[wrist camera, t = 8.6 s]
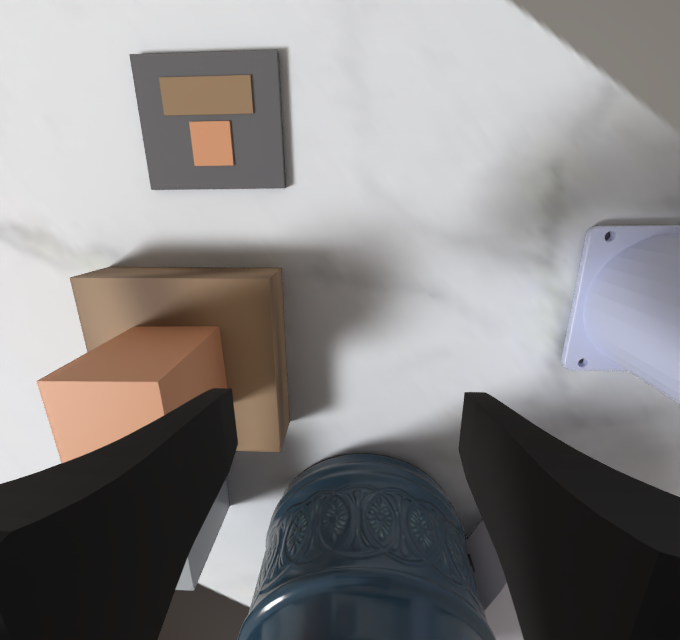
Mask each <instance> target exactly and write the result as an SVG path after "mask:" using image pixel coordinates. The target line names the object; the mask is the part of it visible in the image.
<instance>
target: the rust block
mask: <svg viewBox="0 0 680 640" xmlns="http://www.w3.org/2000/svg"><path fill="white" fill-rule="evenodd" d="M36 382H37V385H38V388H39V391H40V395H41V398H42V401H43V404H44V408H45V411H46V414H47V417H48V421H49V424H50V427H51V430H52V434H53V437H54V440H55V443H56V447H57V450H58V453H59V456H60V460H61V463H64V462H67V461H69V460H72V459H75V458H77V457H80V456H83V455H85V454H87V453H90V452H92V451H94V450H97V449H99V448H101V447H103V446H106V445H108V444H110V443H112V442H114V441H117V440H119V439H121V438H123V437H125V436H127V435H129V434H131V433H133V432H134V431H136V430H138V429H140V428H142V427H144V426H146V425H147V424H149V423H151V422H153V421H155V420H157V419H159V418H160V417H162V416H164V415H166V414H167V413H169V412H171V411H172V410H174V409H176V408H178V407H179V406H181V405H183V404H184V403H186V402H188V401H190V400H191V399H193V398H195V397H197V396H198V395H200V394H202V393H204V392H206V391H208V390H210V389H212V388H227V382H226V374H225V366H224V359H223V351H222V343H221V336H220V328H219V326H177V327H132V328H130V329H128V330H127V331H125V332H123V333H121V334H120V335H118V336H116V337H114V338H112V339H111V340H109V341H107V342H105V343H104V344H102V345H100V346H98V347H96V348H95V349H93V350H91V351H89V352H88V353H86V354H84V355H82V356H80V357H79V358H77V359H75V360H73V361H72V362H70V363H68V364H66V365H64V366H63V367H61V368H59V369H57V370H56V371H54V372H52V373H50V374H48V375H47V376H45V377H43V378H41V379H40V380H38V381H36Z"/></svg>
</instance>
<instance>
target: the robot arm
mask: <svg viewBox="0 0 680 640" xmlns="http://www.w3.org/2000/svg"><path fill="white" fill-rule="evenodd" d="M607 232H610V234H611V236H610V238H609V239H608V240H605V235H606V233H607ZM581 359H584V360H583V362H582V363H581V364H578V362H579V360H581ZM561 363H562V365H563V366H564V367H565V368H566V369H568V370H579V371H629V372H631V373H632V374H634V375H635V376H637V377H638V378H640V379H641V380H643V381H644V382H646V383H648V384H649V385H651V386H652V387H654V388H655V389H657V390H658V391H660V392H661V393H663V394H665V395H666V396H668V397H669V398H671V399H672V400H674V401H675V402H677V403H678V404H680V225H636V226H594V227H592V228H590V229H589V231H588V232H587V234H586V237H585V242H584V247H583V252H582V257H581V262H580V267H579V273H578V278H577V283H576V288H575V293H574V298H573V303H572V308H571V314H570V319H569V324H568V329H567V334H566V339H565V344H564V349H563V354H562V360H561ZM237 446H238V438H237V429H236V420H235V412H234V403H233V395H232V388H212V389H210V390H208V391H206V392H204V393H202V394H200V395H198V396H197V397H195V398H193V399H191V400H190V401H188V402H186V403H184V404H183V405H181V406H179V407H178V408H176V409H174V410H172V411H171V412H169V413H167V414H166V415H164V416H162V417H160V418H159V419H157V420H155V421H153V422H151V423H149V424H147V425H146V426H144V427H142V428H140V429H138V430H136V431H134V432H133V433H131V434H129V435H127V436H125V437H123V438H121V439H119V440H117V441H114V442H112V443H110V444H108V445H106V446H103V447H101V448H99V449H97V450H94V451H92V452H90V453H87V454H85V455H83V456H80V457H77V458H75V459H72V460H69V461H67V462H64V463H61V464H59V465H56V466H53V467H51V468H48V469H45V470H43V471H40V472H37V473H34V474H31V475H28V476H25V477H22V478H19V479H16V480H13V481H9V482H6V483H3V484H0V640H157V639H158V636H159V633H160V631H161V628H162V625H163V622H164V619H165V617H166V614H167V611H168V608H169V605H170V603H171V600H172V597H173V594H174V592H175V589H176V586H177V584H178V581H179V579H180V576H181V573H182V571H183V568H184V566H185V563H186V560H187V558H188V555H189V553H190V551H191V549H192V546H193V544H194V542H195V540H196V538H197V536H198V534H199V532H200V530H201V528H202V526H203V524H204V522H205V520H206V518H207V516H208V514H209V512H210V510H211V508H212V506H213V504H214V502H215V500H216V498H217V496H218V494H219V491H220V489H221V487H222V485H223V483H224V481H225V479H226V477H227V475H228V473H229V470H230V467H231V464H232V461H233V458H234V455H235V452H236V449H237ZM459 453H460V457H461V461H462V465H463V468H464V472H465V476H466V479H467V482H468V484H469V487H470V489H471V492H472V494H473V497H474V499H475V502H476V504H477V506H478V509H479V511H480V514H481V516H482V519H483V521H484V523H485V526H486V528H487V531H488V533H489V535H490V538H491V540H492V543H493V545H494V547H495V550H496V552H497V555H498V558H499V560H500V563H501V566H502V569H503V572H504V575H505V578H506V581H507V585H508V588H509V591H510V595H511V598H512V601H513V604H514V608H515V611H516V614H517V618H518V621H519V625H520V628H521V632H522V635H523V639H524V640H680V497H678V496H675V495H673V494H670V493H667V492H665V491H662V490H660V489H658V488H655V487H653V486H651V485H648V484H646V483H644V482H641V481H639V480H637V479H634V478H632V477H630V476H628V475H625V474H623V473H621V472H619V471H617V470H615V469H612V468H610V467H608V466H607V465H605V464H603V463H601V462H599V461H597V460H595V459H593V458H591V457H589V456H587V455H585V454H583V453H581V452H579V451H577V450H576V449H574V448H572V447H570V446H569V445H567V444H565V443H564V442H562V441H560V440H558V439H557V438H555V437H553V436H552V435H550V434H549V433H547V432H545V431H544V430H542V429H541V428H539V427H537V426H536V425H534V424H533V423H531V422H530V421H528V420H527V419H525V418H524V417H522V416H521V415H519V414H518V413H516V412H515V411H513V410H512V409H510V408H509V407H507V406H506V405H504V404H503V403H501V402H500V401H498V400H497V399H495V398H494V397H492V396H491V395H489V394H487V393H481V392H465V395H464V404H463V413H462V422H461V431H460V441H459Z"/></svg>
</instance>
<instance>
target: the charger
mask: <svg viewBox="0 0 680 640" xmlns="http://www.w3.org/2000/svg"><path fill="white" fill-rule="evenodd" d="M466 545H467V555H468V554H469V553H470V555H469V556H468V559H469V562H470V566H471V569H472V572H473V576H474V579H475V582H476V586H477V589H478V592H479V596H480V599H481V602H482V605H483V609H484V612H485V615H486V619H487V622H488V625H489V626H490V628H491V630H492V631H493V633H494V635H495V638H496V640H524V639H523V635H522V632H521V628H520V625H519V621H518V618H517V614H516V611H515V608H514V604H513V601H512V598H511V595H510V591H509V588H508V585H507V581H506V578H505V575H504V572H503V569H502V566H501V563H500V560H499V558H498V555H497V552H496V550H495V547H494V545H493V543H492V540H491V538H490V535H489V533H488V531H487V528H486V526H485V523H484V521H483V519H482V521H481V522H480V523H479V525H478V526H477V527H476V528H475V530H474V531H473V532H472V534H471V535H470V536H469V538H468V539H467V540H466Z"/></svg>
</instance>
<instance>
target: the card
mask: <svg viewBox="0 0 680 640" xmlns="http://www.w3.org/2000/svg"><path fill="white" fill-rule="evenodd" d="M130 61H131V67H132V73H133V79H134V85H135V92H136V98H137V104H138V110H139V116H140V122H141V129H142V135H143V141H144V147H145V153H146V159H147V166H148V172H149V178H150V184H151V190H177V189H257V188H286V183H285V164H284V145H283V127H282V108H281V89H280V71H279V53H278V51H277V50H250V51H219V52H188V53H156V54H130Z"/></svg>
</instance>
